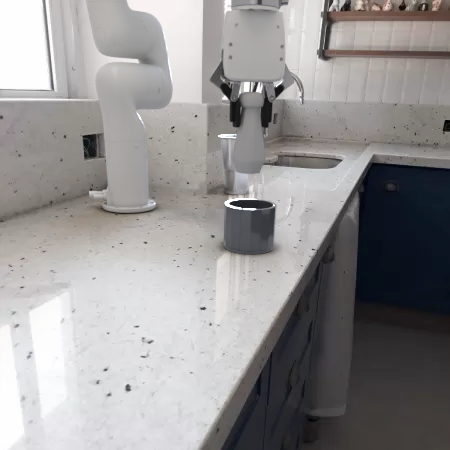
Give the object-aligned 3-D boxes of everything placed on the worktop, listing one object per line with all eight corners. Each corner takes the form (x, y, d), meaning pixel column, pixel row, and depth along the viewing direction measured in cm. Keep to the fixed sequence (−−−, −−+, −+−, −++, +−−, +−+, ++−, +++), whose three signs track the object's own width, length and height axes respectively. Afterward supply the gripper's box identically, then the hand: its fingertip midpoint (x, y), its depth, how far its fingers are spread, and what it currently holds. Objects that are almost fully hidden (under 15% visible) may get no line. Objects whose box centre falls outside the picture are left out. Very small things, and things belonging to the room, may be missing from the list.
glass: (253, 197, 131) (259, 76, 119) (213, 195, 133) (215, 75, 121) (259, 190, 141) (265, 77, 129) (221, 188, 143) (224, 76, 131)
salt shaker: (241, 175, 81) (244, 91, 76) (226, 170, 86) (227, 91, 81) (271, 173, 84) (275, 92, 79) (254, 169, 89) (257, 92, 83)
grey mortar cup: (228, 255, 85) (230, 210, 82) (220, 240, 93) (221, 198, 90) (279, 253, 86) (282, 209, 83) (266, 239, 95) (268, 198, 91)
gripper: (299, 8, 80) (291, 126, 87) (198, 3, 77) (198, 125, 84) (315, 1, 73) (304, 129, 80) (204, -5, 70) (204, 128, 77)
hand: (250, 125), depth 82 cm, fingers closed on salt shaker, 4 cm apart
